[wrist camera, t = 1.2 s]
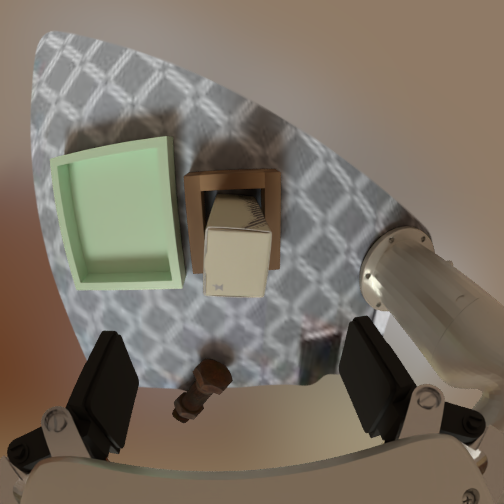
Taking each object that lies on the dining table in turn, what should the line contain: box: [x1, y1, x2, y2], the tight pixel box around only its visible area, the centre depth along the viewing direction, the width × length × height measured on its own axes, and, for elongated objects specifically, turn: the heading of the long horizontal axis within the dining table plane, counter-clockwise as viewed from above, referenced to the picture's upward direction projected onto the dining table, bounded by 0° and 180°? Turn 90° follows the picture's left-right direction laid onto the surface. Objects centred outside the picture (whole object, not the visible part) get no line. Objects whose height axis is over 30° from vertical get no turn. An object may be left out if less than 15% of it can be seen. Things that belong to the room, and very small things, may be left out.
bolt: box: [172, 359, 233, 423], centre depth 38 cm, size 6×5×15 cm
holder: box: [184, 169, 281, 274], centre depth 28 cm, size 9×10×4 cm
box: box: [203, 194, 272, 298], centre depth 24 cm, size 5×4×13 cm
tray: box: [50, 136, 186, 290], centre depth 27 cm, size 14×16×3 cm
